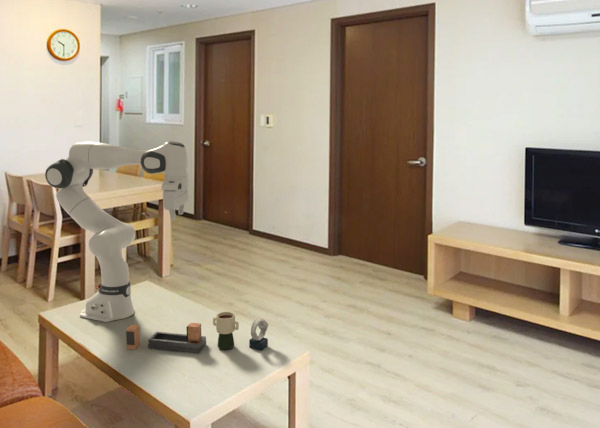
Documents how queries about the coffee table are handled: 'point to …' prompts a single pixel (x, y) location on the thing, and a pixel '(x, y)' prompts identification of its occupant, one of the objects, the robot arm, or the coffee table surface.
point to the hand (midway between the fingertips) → (177, 216)
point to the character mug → (225, 329)
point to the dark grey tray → (179, 340)
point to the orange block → (133, 336)
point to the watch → (259, 341)
